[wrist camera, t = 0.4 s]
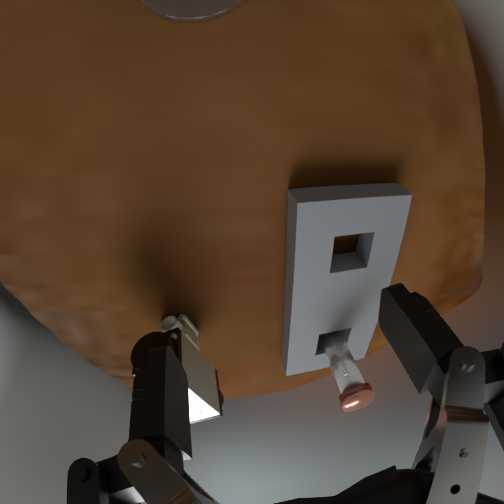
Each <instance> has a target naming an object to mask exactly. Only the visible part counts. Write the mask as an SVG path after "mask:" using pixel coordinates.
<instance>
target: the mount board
mask: <svg viewBox="0 0 504 504" xmlns="http://www.w3.org/2000/svg"><path fill="white" fill-rule="evenodd" d="M411 198H412V195H411V194H410V193H409V192H408V191H406V190H405V189H404V188H402V187H401V186H400V185H399V184H397V183H379V184H357V185H339V186H323V187H309V188H296V189H288V209H287V247H286V275H285V298H284V319H283V337H282V354H281V360H282V364H283V367H284V371H285V374H286V376H288V375H293V374H298V373H303V372H308V371H313V370H317V369H322V368H326V367H330V364H329V362H328V359H327V357H326V354H325V352H324V349H323V347H322V344H321V342H320V339H319V335H320V334H325V333H329V332H334V331H339V330H341V332H342V335H343V337H344V339H345V341H346V343H347V345H348V347H349V349H350V352H351V354H352V356H353V358H354V360H358V359H362V358H364V356H365V353H366V351H367V348H368V346H369V343H370V340H371V338H372V335H373V332H374V330H375V327H376V324H377V321H378V316H379V307H380V297H381V290H382V289H383V288H386V287H389V285H390V281H391V278H392V275H393V271H394V268H395V264H396V261H397V257H398V253H399V250H400V246H401V242H402V238H403V234H404V230H405V226H406V221H407V217H408V213H409V208H410V203H411ZM353 234H359V236H358V241H357V247H356V252H349V253H342V254H334V255H332V253H333V246H334V238H335V237H336V236H344V235H353Z"/></svg>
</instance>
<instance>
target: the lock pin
mask: <svg viewBox="0 0 504 504" xmlns="http://www.w3.org/2000/svg"><path fill="white" fill-rule="evenodd" d="M319 339H320V342H321V344H322V347H323V349H324V352H325V354H326V357H327V359H328V362H329V364H330V367H331V369H332V372H333V374H334V377H335V379H336V382H337V384H338V386H339V389H340V392H341V395H340V397H339V401H340V404H341V406H342V409H343V411H344V412H352V411H355V410H359V409H361V408H363V407H365V406H367V405H368V404H369V403H371V402H372V401H373V400H374V399H375V393H374V391H373V389H372V387H371V385H370V384H369V383H365V382H364V380H363V378H362V375H361V373H360V371H359V369H358V367H357V364H356V362H355V360H354V358H353V356H352V354H351V352H350V349H349V347H348V345H347V343H346V341H345V339H344V337H343V335H342V332H341V330H339V331H334V332H329V333H325V334H320V335H319Z"/></svg>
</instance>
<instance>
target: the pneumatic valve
mask: <svg viewBox="0 0 504 504" xmlns="http://www.w3.org/2000/svg"><path fill="white" fill-rule="evenodd" d="M160 328H161V329H162V332H151V333H149V334H147V335H145V336H143V337H142V338H141V339H140V340H139V341H138V342H137V343H136V344H135V346H134V348H133V350H132V353H131V363H132V365H133V371H132V375H133V376H135V374H136V372H137V371H138V369H139V367H140V365H144V364H147V362H148V353H149V350H150V349H153V348H158V347H163V346H168V345H169V346H170V347H171V348H172V349H173V351H174V353H175V354H176V356H177V358H178V359H179V361H180V363H181V364H182V366H183V368H184V369H185V372H186V375H187V379H188V390H189V413H190V424H192V423H196V422H200V421H205V420H209V419H213V418H217V417H221V416H223V414H222V405H223V401H224V398H223V394H222V392H221V391H220V390H219V383H218V375H217V370H216V369H215V368H214V367H213V366H212V365H211V364H210V363H209V362H208V360H207V359H206V358H205V357H204V356H203V355H202V354H201V353H200V352H199V351H200V346H199V344H198V337H197V336H198V335H199V331H198V329H197V328H196V327H195V326H194V324H193V323H192V322H191V321H190V319H189V318H188V317H187V316H186V314H180V315H179V318H176V317H175V316H168V317H166V318H165V319H164V320H163V321H162V322H161V325H160Z"/></svg>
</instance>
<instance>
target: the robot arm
mask: <svg viewBox="0 0 504 504" xmlns="http://www.w3.org/2000/svg"><path fill="white" fill-rule="evenodd" d="M141 1H142V2H143V3H144V4H145V5H146V6H147V7H148V8H149V9H150V10H151V11H152V12H154V13H156V14H157V15H159V16H161V17H164V18H167V19H170V20H173V21H180V22H199V21H205V20H210V19H213V18H216V17H219V16H222V15H223V14H225V13H227V12H229V11H231V10H232V9H234V8H235V7H236V6H237V5H239V4H240V3H241V2H242V1H243V0H141ZM378 319H379V324H380V328H381V330H382V332H383V333H384V335H385V337H386V338H387V340H388V342H389V343H390V345H391V346H392V348H393V350H394V351H395V353H396V355H397V356H398V358H399V360H400V361H401V363H402V365H403V367H404V368H405V370H406V372H407V373H408V375H409V377H410V379H411V380H412V382H413V384H414V386H415V387H416V389H417V391H418V393H419V394H422V393H424V392H426V391H428V390H429V392H430V393H431V395H432V396H431V398H430V403H429V409H428V414H427V418H426V423H425V428H424V432H423V436H422V440H421V443H420V446H419V448H418V450H417V452H416V455H415V458H414V461H413V464H412V467H411V469H399V470H397V469H396V466H395V465H394V466H392V467H390V468H387V469H385V470H383V471H380V472H378V473H375V474H373V475H370V476H367V477H365V478H363V479H362V480H360V481H359V482H357V483H356V484H354V485H353V486H351V487H349V488H348V489H346V490H344V491H343V492H341V493H339V494H337V495H335V496H330V497H316V498H297V499H293V500H289V501H284V502H279V503H275V504H504V501H502V500H499V499H496V498H493V497H490V496H487V495H485V494H482V493H479V492H478V489H479V484H480V480H481V475H482V470H483V464H484V459H485V452H486V445H487V438H488V428H489V421H490V423H491V425H492V427H493V429H494V431H495V433H496V435H497V437H498V439H499V441H500V444H501V446H502V448H503V450H504V343H503V344H502V346H501V348H500V349H495V350H490V351H485V352H480V351H479V350H478V349H476V348H474V347H471V346H464V345H463V344H462V343H461V342H460V340H459V339H458V338H457V336H456V335H455V334H454V332H453V331H452V330H451V328H450V327H449V326H448V325H447V323H446V322H445V321H444V320H443V318H442V317H440V315H439V313H438V312H437V311H436V310H434V307H433V306H432V305H431V303H430V302H429V301H428V300H427V299H426V298H425V297H423V296H422V295H420V294H418V293H417V292H412V293H410V292H409V291H408V290H407V289H406V287H405V286H404V285H403V284H402V283H397V284H394V285H392V286H389V287H386V288H383V289H382V290H381V297H380V307H379V316H378ZM132 400H133V401H132V405H131V416H130V430H129V439H128V442H127V443H125V444H124V445H123V446H122V447H121V449H120V451H119V453H118V454H117V455H115V456H113V457H111V458H108V459H105V460H102V461H100V462H96V463H95V462H94V461H92V460H90V459H88V458H80V459H77V460H75V461H74V462H73V463H72V464H71V466H70V468H69V470H68V479H67V504H141V502H143V501H145V502H146V503H147V504H220V503H218V502H217V501H216V500H215V499H214V498H213V497H211V496H210V495H209V494H208V493H207V492H206V491H205V490H204V489H203V488H202V487H201V486H199V484H198V483H197V482H195V480H194V479H192V478H191V477H190V476H189V475H188V474H187V473H186V471H185V470H184V467H183V460H187V459H192V446H191V432H190V413H189V390H188V379H187V375H186V372H185V369H184V368H183V366H182V364H181V363H180V361H179V359H178V358H177V356H176V354H175V353H174V351H173V349H172V348H171V347H170V346H169V345H168V346H163V347H158V348H153V349H150V350H149V353H148V362H147V364H144V365H140V367H139V369H138V371H137V372H136V374H135V376H134V383H133V393H132ZM483 409H484V411H485V413H486V415H485V414H484V411H483Z"/></svg>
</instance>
